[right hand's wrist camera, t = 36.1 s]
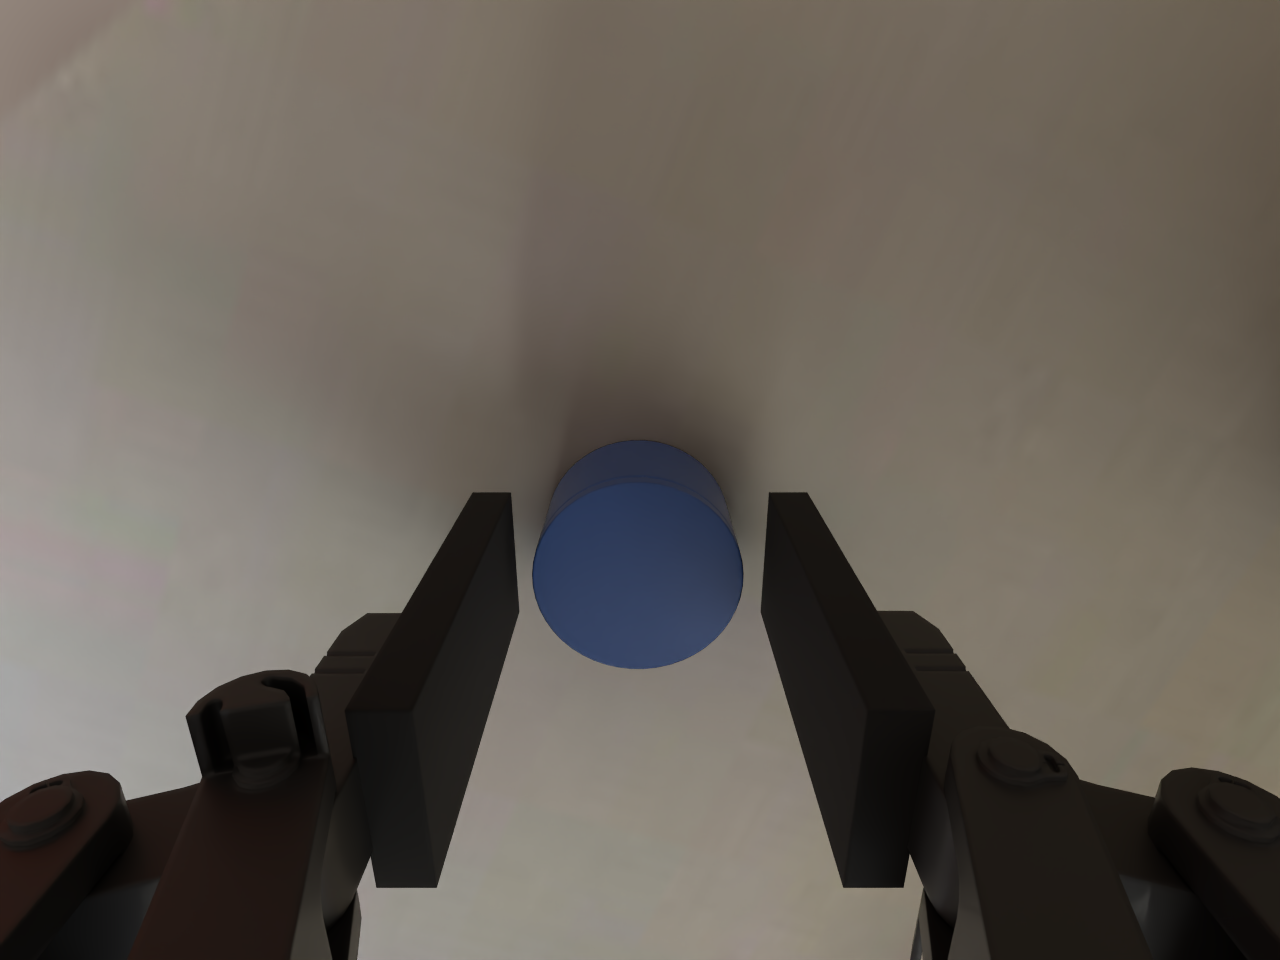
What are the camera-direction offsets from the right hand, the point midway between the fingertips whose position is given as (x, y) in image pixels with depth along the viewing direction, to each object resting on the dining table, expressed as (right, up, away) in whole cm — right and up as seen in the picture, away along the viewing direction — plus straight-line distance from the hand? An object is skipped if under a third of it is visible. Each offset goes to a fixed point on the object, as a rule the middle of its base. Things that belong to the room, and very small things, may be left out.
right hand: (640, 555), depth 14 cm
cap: (0, 0, -1) cm, 1 cm away
